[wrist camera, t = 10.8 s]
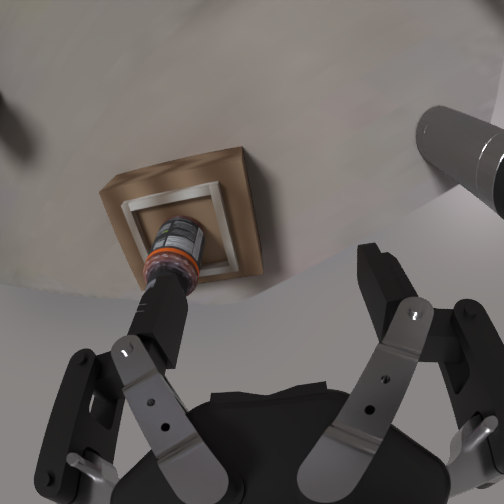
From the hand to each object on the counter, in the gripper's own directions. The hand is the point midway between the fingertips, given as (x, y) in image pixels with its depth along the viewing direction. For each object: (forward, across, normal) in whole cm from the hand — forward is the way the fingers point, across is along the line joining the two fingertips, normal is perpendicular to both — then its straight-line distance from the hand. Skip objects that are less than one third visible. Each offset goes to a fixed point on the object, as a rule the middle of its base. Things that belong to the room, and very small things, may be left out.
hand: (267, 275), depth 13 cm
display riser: (+28, +12, +9) cm, 32 cm away
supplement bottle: (+22, +11, +9) cm, 26 cm away
